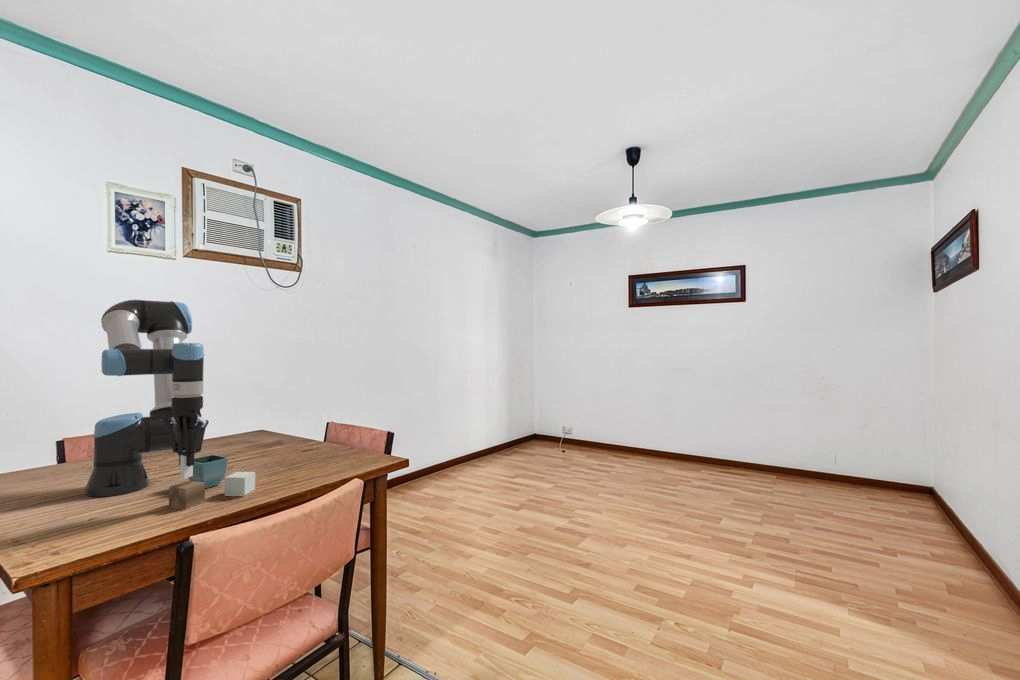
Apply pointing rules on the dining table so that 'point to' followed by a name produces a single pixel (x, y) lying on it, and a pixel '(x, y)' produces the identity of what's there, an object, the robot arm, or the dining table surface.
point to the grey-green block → (239, 483)
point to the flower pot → (209, 470)
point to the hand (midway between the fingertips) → (186, 476)
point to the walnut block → (186, 494)
